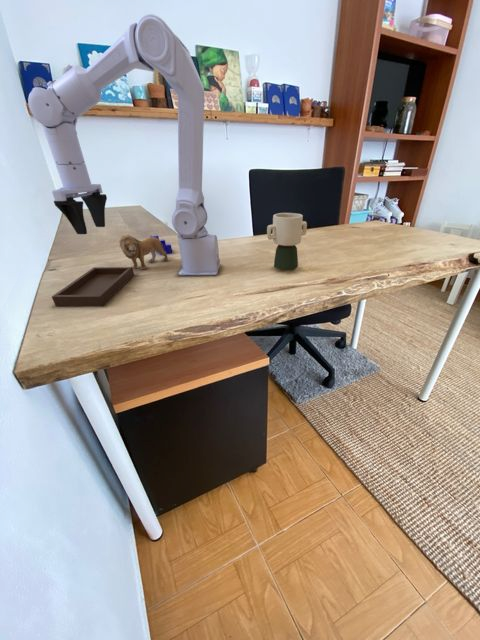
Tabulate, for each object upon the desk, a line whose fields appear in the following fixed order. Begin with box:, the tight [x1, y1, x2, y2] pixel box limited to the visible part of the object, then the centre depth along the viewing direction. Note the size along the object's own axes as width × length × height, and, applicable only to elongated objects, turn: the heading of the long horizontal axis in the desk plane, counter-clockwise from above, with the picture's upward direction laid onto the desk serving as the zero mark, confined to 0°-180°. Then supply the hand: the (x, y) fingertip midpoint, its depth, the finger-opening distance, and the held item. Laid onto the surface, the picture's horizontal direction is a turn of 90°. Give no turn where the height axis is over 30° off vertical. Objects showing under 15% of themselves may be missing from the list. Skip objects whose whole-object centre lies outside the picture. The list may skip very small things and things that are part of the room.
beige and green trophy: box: [266, 212, 308, 272], centre depth 73 cm, size 11×7×13 cm, turn 115°
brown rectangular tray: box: [51, 266, 135, 307], centre depth 66 cm, size 10×18×2 cm, turn 0°
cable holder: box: [150, 234, 173, 256], centre depth 90 cm, size 8×4×4 cm, turn 34°
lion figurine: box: [118, 234, 169, 271], centre depth 77 cm, size 15×5×9 cm, turn 159°
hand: (91, 230), depth 71 cm, fingers open, 7 cm apart
